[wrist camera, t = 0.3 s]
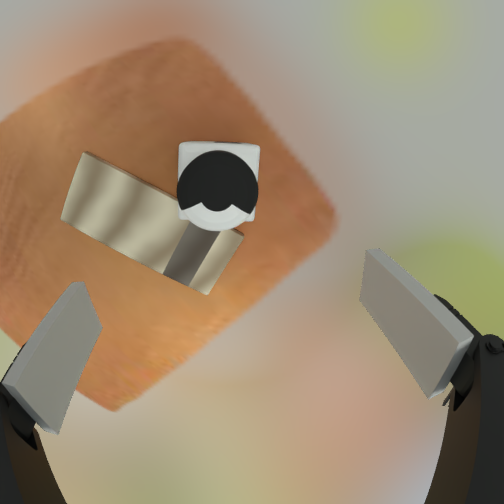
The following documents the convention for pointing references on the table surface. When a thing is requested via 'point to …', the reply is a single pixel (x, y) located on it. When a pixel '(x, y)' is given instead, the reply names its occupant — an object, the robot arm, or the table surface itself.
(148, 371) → the table surface
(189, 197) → the container
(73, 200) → the metal panel
